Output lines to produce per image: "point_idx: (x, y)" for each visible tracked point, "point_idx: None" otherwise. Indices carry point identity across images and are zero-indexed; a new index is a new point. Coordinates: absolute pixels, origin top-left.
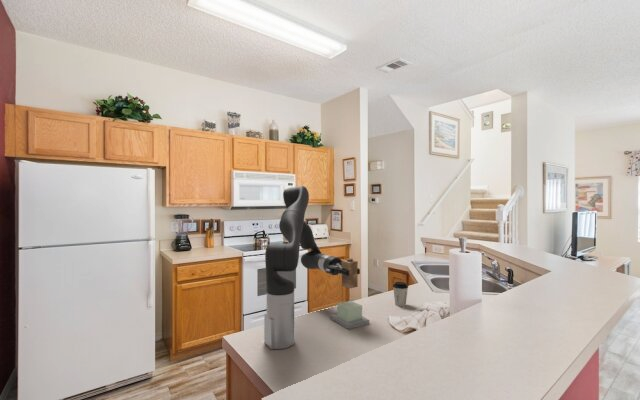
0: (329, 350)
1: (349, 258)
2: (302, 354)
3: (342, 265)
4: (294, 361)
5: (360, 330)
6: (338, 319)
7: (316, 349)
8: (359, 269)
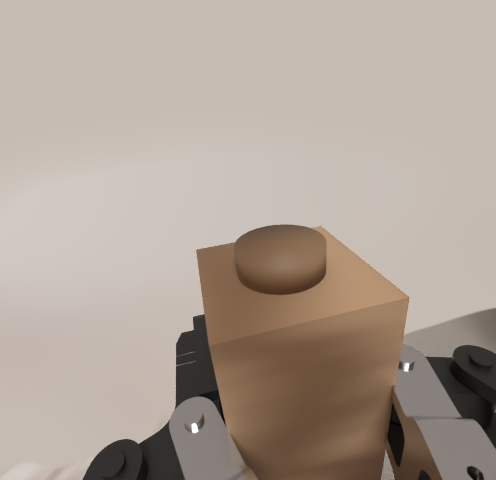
0: (405, 342)
1: (267, 263)
2: (482, 338)
3: (390, 348)
4: (491, 318)
5: None
6: None
7: (447, 352)
8: (196, 317)
